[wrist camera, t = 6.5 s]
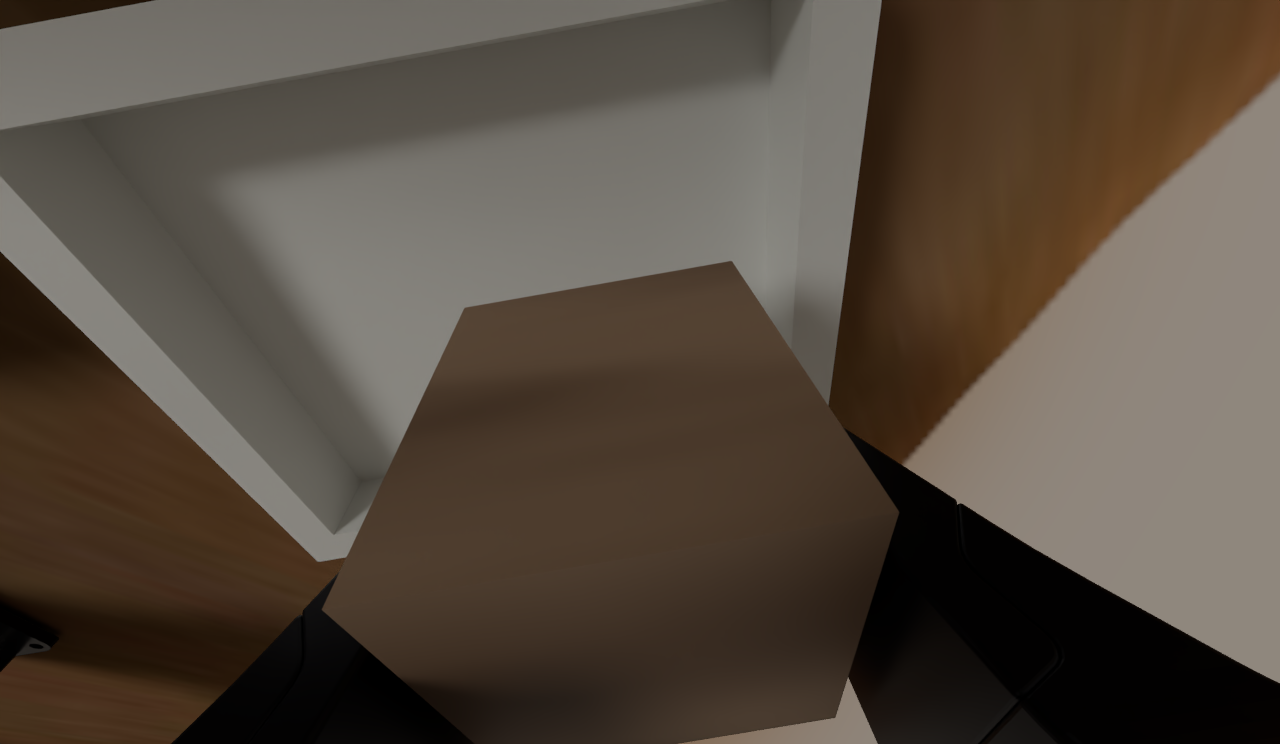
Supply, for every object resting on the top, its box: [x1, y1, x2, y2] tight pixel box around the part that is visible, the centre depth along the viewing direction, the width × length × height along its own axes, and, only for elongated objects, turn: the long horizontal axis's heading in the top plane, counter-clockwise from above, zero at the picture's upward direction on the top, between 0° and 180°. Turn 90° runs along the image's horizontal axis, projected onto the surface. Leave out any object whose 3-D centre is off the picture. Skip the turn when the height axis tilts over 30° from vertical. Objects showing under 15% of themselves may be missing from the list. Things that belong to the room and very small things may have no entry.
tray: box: [0, 0, 882, 562], centre depth 12 cm, size 14×17×3 cm
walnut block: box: [322, 261, 899, 744], centre depth 7 cm, size 4×4×5 cm
